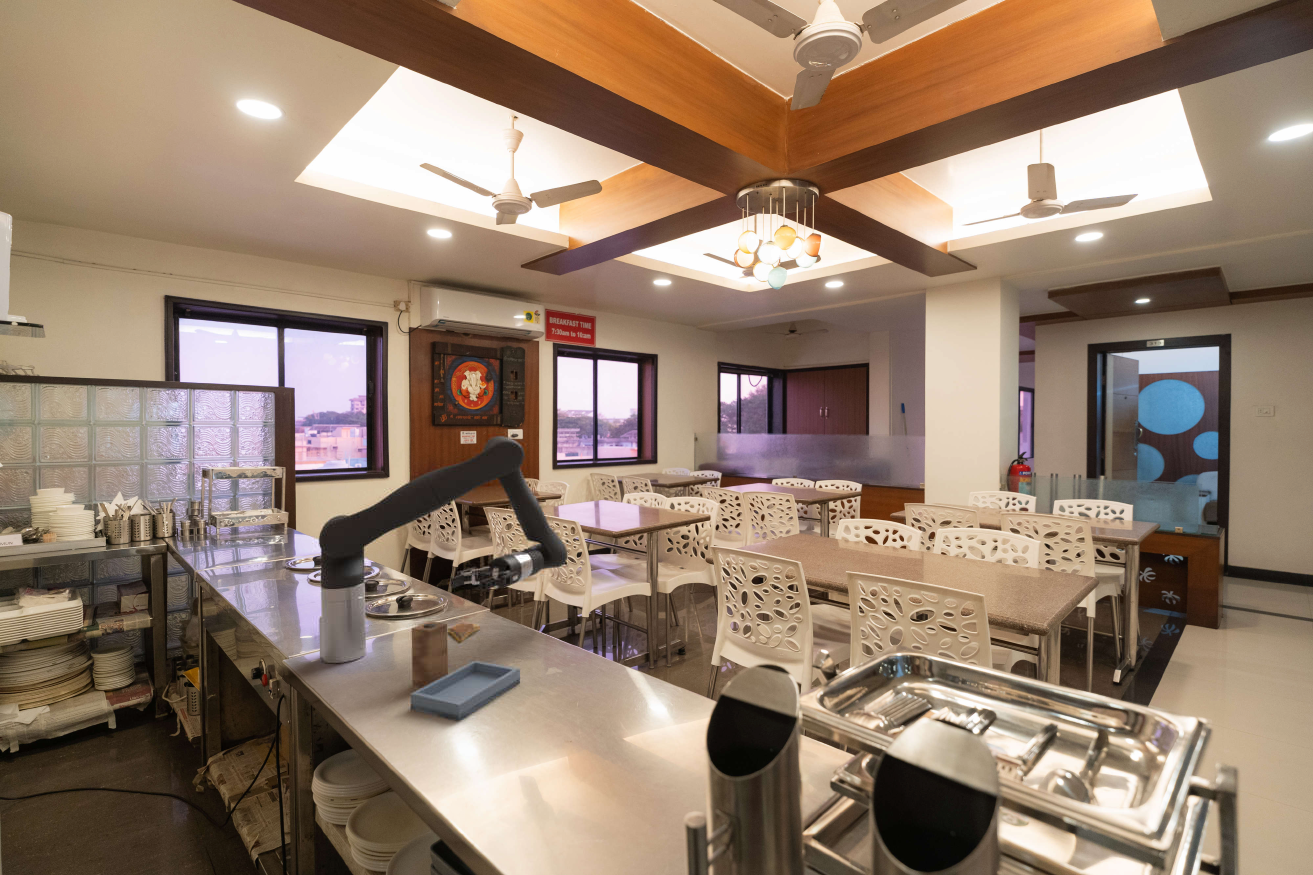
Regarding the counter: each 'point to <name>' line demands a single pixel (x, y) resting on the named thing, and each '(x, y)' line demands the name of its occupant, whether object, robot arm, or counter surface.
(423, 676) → the walnut block
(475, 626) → the shard
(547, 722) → the counter surface
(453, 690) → the slate tray
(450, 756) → the counter surface
